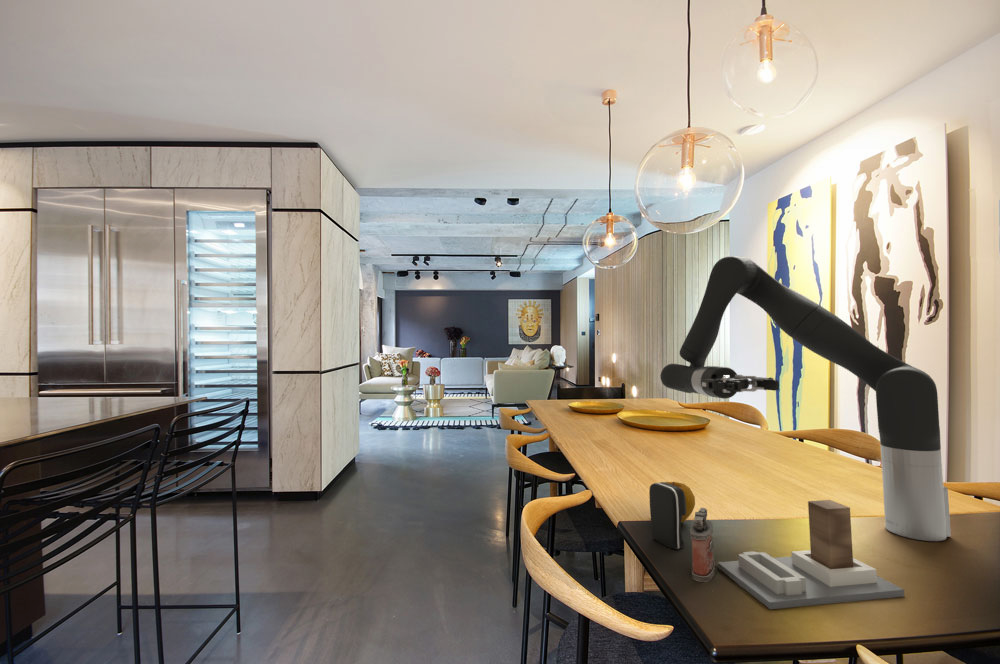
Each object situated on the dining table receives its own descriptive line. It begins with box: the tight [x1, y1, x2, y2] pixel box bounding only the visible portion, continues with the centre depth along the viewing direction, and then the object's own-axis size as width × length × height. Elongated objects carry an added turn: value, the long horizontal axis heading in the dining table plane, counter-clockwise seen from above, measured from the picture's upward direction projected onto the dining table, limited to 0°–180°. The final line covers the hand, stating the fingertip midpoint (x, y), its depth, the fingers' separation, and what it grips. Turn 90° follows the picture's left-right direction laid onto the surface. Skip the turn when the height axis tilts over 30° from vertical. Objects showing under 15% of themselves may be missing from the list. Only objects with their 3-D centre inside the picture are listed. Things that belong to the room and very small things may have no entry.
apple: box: [664, 481, 696, 524], centre depth 102 cm, size 9×9×9 cm
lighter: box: [689, 507, 716, 583], centre depth 80 cm, size 8×3×10 cm, turn 148°
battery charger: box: [649, 481, 686, 550], centre depth 92 cm, size 7×4×11 cm, turn 24°
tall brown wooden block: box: [807, 499, 854, 569], centre depth 76 cm, size 4×4×11 cm
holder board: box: [717, 549, 905, 610], centre depth 75 cm, size 22×13×3 cm, turn 97°
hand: (758, 386), depth 97 cm, fingers open, 8 cm apart
